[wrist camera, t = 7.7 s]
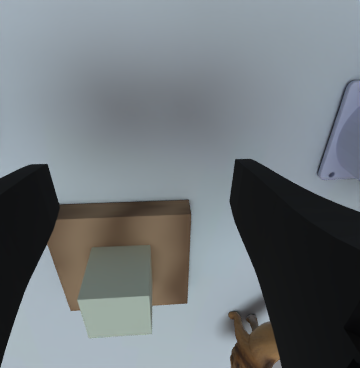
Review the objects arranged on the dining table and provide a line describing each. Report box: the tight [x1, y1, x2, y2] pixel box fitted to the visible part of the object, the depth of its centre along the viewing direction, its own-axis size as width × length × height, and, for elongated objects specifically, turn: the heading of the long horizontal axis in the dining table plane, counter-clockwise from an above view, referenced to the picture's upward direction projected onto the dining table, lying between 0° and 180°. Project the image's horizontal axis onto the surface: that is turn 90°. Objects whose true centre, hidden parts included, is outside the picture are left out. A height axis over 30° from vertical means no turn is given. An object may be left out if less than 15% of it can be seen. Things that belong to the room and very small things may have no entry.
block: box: [77, 245, 152, 338], centre depth 22 cm, size 5×5×5 cm
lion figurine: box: [229, 312, 280, 368], centre depth 29 cm, size 15×5×9 cm, turn 151°
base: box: [47, 200, 191, 311], centre depth 25 cm, size 12×12×2 cm
